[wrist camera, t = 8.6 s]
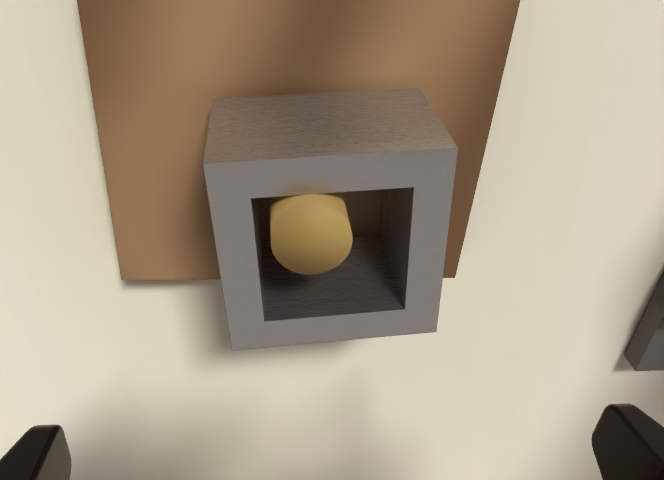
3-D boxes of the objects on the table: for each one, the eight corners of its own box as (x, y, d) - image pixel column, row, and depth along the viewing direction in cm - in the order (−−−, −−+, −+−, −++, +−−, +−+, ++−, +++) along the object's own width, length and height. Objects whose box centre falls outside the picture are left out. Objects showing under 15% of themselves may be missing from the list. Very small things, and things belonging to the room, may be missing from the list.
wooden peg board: (506, -16, 18) (609, 45, 12) (446, 258, 23) (500, 378, 18) (83, -40, 16) (2, 17, 11) (127, 259, 22) (87, 390, 16)
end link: (418, 87, 17) (457, 147, 14) (407, 253, 21) (435, 331, 18) (212, 99, 17) (202, 163, 14) (235, 266, 20) (232, 350, 17)
